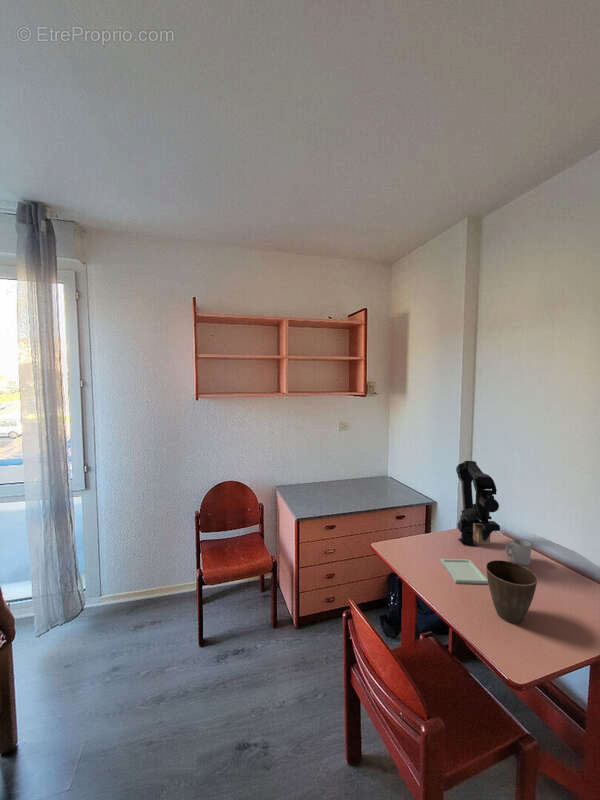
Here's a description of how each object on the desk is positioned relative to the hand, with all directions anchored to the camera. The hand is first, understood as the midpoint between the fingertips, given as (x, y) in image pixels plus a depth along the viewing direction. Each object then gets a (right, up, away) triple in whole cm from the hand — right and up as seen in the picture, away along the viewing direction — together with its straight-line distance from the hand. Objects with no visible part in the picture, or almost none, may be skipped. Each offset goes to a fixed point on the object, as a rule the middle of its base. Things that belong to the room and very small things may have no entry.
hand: (481, 537), depth 147 cm
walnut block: (0, -2, 0) cm, 2 cm away
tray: (-12, -12, -7) cm, 18 cm away
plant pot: (-9, -14, -33) cm, 37 cm away
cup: (+18, -12, +2) cm, 21 cm away
